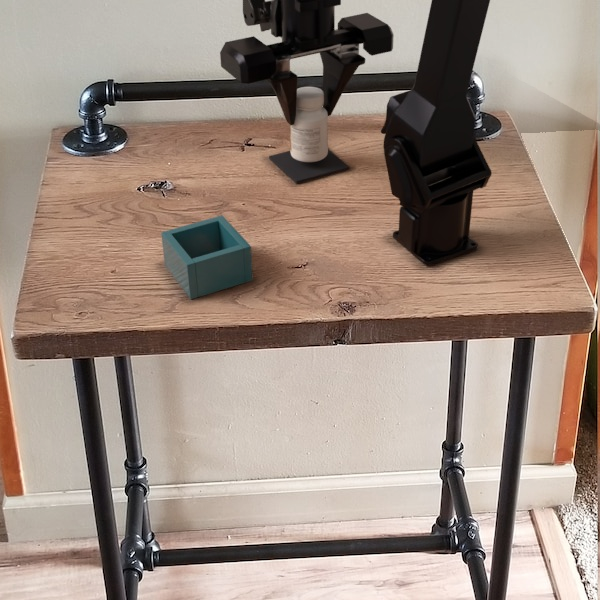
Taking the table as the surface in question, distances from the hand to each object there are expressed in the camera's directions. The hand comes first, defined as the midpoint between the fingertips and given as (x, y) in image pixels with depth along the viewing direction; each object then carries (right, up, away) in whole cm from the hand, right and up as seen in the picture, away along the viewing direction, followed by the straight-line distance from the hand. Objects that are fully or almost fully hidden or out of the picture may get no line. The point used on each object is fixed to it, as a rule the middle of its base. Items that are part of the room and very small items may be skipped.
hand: (309, 119), depth 112 cm
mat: (0, -5, +4) cm, 6 cm away
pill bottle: (0, -4, +3) cm, 5 cm away
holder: (-10, -18, -15) cm, 25 cm away
